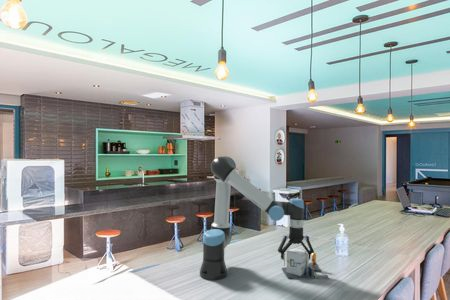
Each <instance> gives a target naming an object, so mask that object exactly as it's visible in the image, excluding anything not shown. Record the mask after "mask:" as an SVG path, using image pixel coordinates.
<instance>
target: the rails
mask: <svg viewBox="0 0 450 300" xmlns="http://www.w3.org/2000/svg"><path fill="white" fill-rule="evenodd" d="M317 271H319V273H321V274H315V273H314V279H315V280H317V279H327V280H329V275H328V274H327V273H326V272H325V271H324V270H322V268H321V267H320V266H318V270H317Z"/></svg>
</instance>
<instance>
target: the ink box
mask: <svg viewBox="0 0 450 300" xmlns="http://www.w3.org/2000/svg"><path fill="white" fill-rule="evenodd" d="M306 253H307V251H306V250H303V249H299V248H294V247H292V248H291V249H289V250H286V267H287V273H291V274H295V275H299V276H301V275H302V274H304V273H305V272H306Z"/></svg>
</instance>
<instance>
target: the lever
mask: <svg viewBox="0 0 450 300" xmlns="http://www.w3.org/2000/svg"><path fill="white" fill-rule="evenodd" d="M309 264H310V265H311V267H312V268H313V269H314V272H315V271H319V270H318V267H319V264H318V263H317V253H316V252H314V253H311V262H309Z"/></svg>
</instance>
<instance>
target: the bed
mask: <svg viewBox="0 0 450 300" xmlns="http://www.w3.org/2000/svg"><path fill="white" fill-rule="evenodd" d="M281 270H282V272H283V273H284V275H285V277H286V278H287V279H288V280H294V279H295V280H297V279H301V280H304V279H306V280H307V279H315V278H314V274H315V271H314V269H313V268H312V267H311V265H310V264H309V266H307V265H306V272H305V273H304V274H302V275H301V276H299V275H295V274H291V273H287V266H286V267H281Z"/></svg>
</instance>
